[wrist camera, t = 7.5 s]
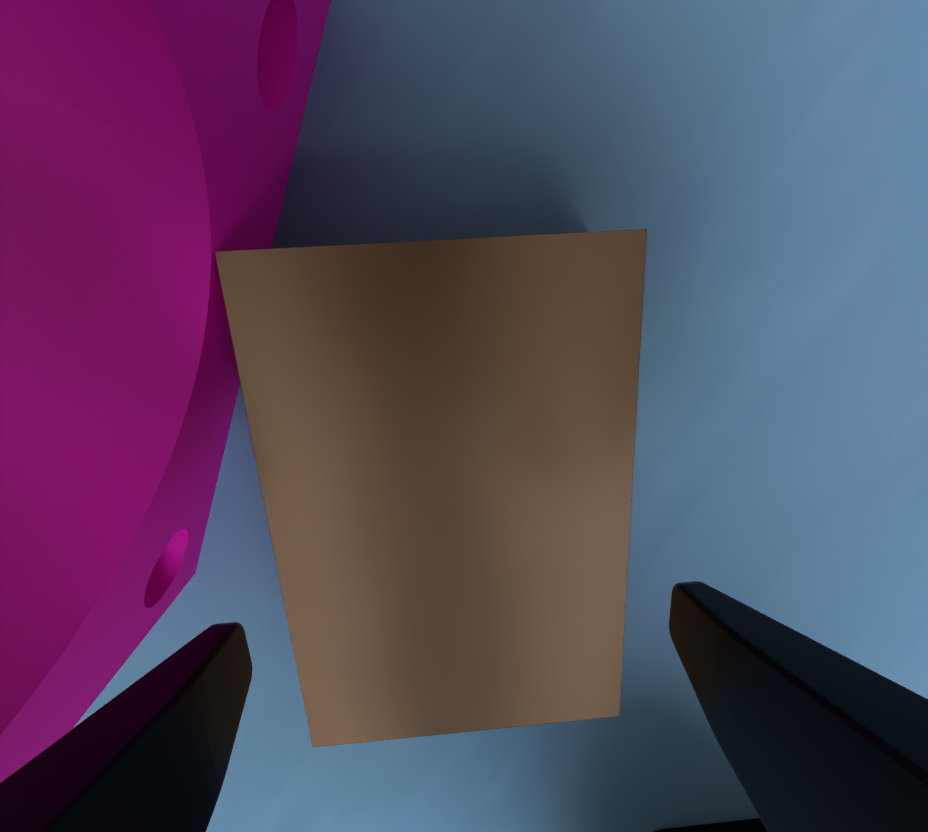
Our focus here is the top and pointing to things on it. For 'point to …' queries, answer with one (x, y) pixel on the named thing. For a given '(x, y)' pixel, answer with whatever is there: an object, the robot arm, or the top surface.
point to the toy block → (122, 313)
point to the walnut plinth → (446, 472)
